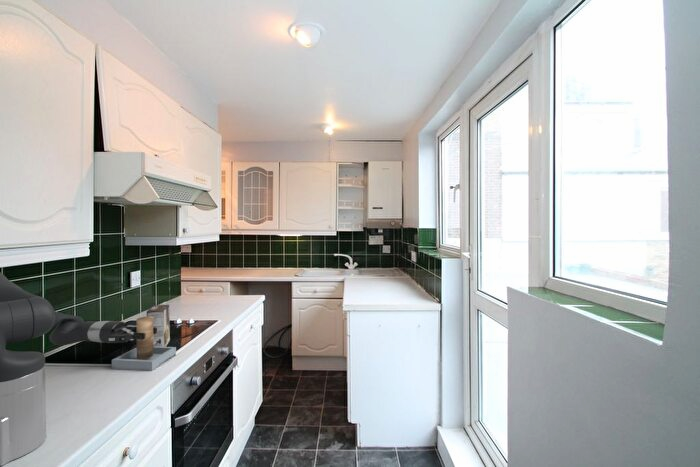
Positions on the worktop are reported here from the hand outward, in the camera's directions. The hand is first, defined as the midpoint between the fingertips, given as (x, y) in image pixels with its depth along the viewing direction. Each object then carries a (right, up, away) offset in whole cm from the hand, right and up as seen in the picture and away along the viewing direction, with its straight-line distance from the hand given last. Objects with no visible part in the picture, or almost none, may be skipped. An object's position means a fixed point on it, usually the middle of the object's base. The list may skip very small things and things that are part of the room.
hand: (150, 333), depth 105 cm
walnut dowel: (-2, -8, 0) cm, 9 cm away
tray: (-2, -11, 0) cm, 11 cm away
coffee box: (-7, -11, +15) cm, 19 cm away
